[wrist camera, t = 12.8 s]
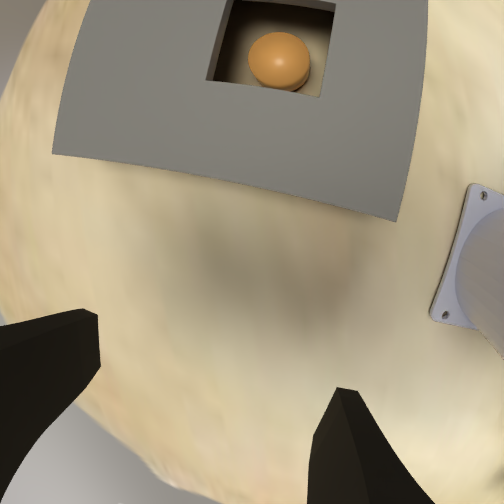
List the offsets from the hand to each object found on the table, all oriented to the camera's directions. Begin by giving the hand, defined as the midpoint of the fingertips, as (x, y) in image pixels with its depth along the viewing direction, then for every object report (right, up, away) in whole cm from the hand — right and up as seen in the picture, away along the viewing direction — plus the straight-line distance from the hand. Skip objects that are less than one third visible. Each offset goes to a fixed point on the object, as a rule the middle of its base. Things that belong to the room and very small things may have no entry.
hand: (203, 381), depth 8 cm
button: (+3, +13, +5) cm, 14 cm away
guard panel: (+1, +13, +6) cm, 15 cm away
